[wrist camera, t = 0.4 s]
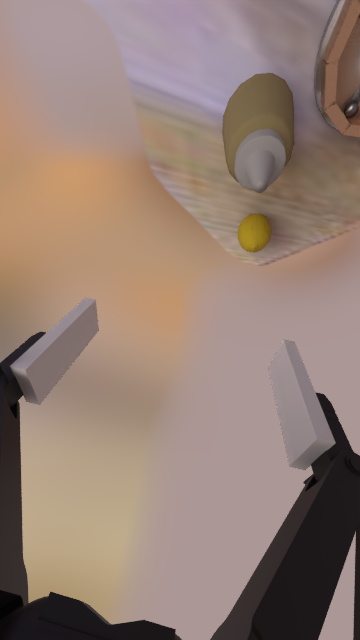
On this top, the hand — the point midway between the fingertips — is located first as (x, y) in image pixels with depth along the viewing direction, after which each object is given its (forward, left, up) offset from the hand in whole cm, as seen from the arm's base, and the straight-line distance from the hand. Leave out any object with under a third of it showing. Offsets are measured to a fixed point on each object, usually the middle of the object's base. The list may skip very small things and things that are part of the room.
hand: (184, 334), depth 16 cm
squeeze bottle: (-1, +6, -32) cm, 32 cm away
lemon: (+14, +3, -32) cm, 35 cm away
